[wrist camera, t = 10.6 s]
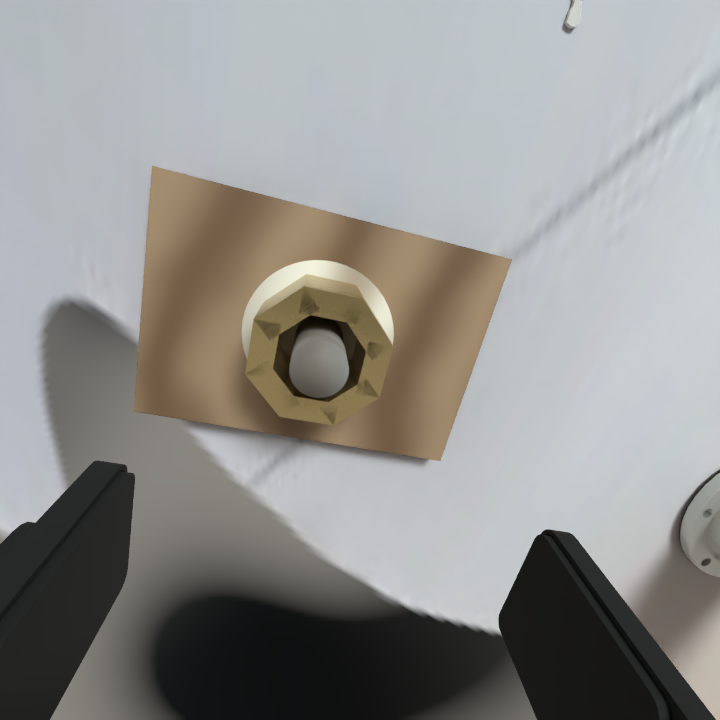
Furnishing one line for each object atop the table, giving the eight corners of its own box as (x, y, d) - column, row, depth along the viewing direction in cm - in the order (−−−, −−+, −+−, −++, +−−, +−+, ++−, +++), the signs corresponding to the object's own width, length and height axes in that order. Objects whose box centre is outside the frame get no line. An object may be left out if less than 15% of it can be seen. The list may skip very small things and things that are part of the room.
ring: (390, 292, 24) (404, 307, 20) (362, 399, 26) (370, 431, 22) (269, 265, 23) (259, 276, 19) (251, 380, 25) (239, 410, 21)
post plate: (501, 256, 25) (565, 273, 19) (434, 449, 30) (467, 516, 23) (162, 168, 22) (96, 151, 15) (143, 400, 26) (85, 463, 20)
